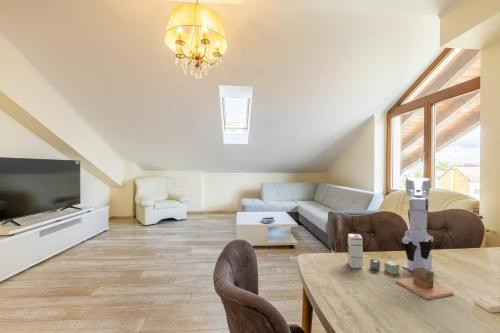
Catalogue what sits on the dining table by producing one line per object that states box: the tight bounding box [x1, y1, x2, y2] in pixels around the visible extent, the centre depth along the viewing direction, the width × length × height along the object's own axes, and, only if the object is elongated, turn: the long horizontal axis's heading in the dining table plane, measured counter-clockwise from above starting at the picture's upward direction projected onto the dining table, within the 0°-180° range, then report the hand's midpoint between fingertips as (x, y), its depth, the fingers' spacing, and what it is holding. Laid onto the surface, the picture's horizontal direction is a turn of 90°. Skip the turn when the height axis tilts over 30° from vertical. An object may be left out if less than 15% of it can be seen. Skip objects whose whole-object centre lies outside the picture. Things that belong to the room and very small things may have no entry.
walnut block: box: [413, 267, 435, 289], centre depth 93 cm, size 4×4×6 cm
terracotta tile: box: [395, 277, 454, 301], centre depth 93 cm, size 13×13×1 cm
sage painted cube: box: [383, 261, 400, 275], centre depth 106 cm, size 4×4×4 cm
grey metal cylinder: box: [369, 258, 381, 272], centre depth 109 cm, size 4×4×4 cm
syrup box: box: [347, 233, 364, 269], centre depth 113 cm, size 6×6×14 cm
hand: (417, 259), depth 98 cm, fingers open, 7 cm apart
